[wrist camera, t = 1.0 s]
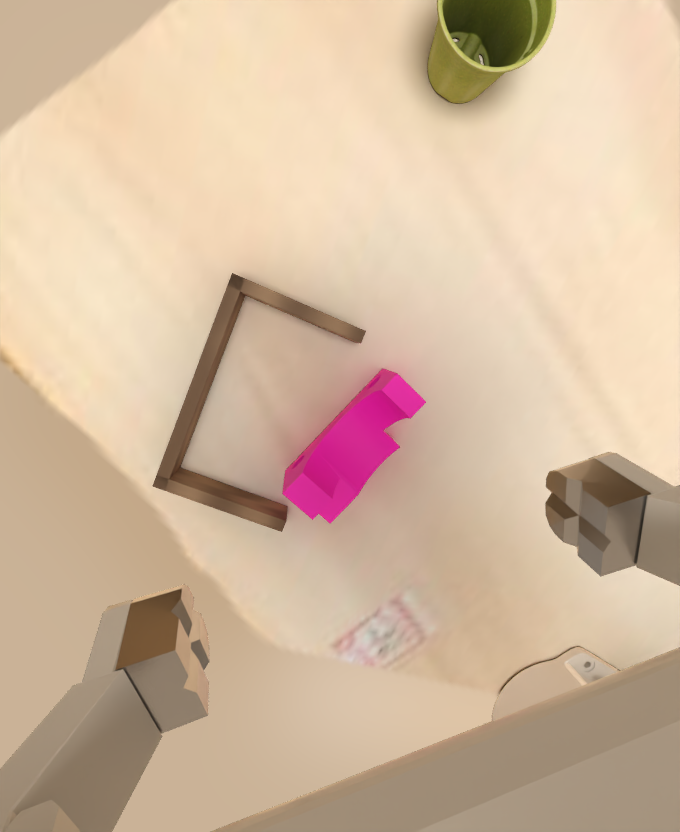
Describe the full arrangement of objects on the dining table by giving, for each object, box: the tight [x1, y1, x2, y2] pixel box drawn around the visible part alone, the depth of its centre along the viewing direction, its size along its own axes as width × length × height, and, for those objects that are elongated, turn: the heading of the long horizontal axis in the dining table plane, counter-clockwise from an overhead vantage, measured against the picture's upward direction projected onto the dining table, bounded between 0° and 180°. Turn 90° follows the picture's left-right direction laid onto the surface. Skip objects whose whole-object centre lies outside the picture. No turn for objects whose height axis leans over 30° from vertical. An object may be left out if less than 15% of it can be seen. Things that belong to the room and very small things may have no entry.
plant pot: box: [428, 0, 556, 103], centre depth 38 cm, size 9×9×9 cm
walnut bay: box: [153, 273, 366, 532], centre depth 45 cm, size 13×21×4 cm, turn 157°
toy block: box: [283, 369, 426, 523], centre depth 45 cm, size 15×6×8 cm, turn 136°
